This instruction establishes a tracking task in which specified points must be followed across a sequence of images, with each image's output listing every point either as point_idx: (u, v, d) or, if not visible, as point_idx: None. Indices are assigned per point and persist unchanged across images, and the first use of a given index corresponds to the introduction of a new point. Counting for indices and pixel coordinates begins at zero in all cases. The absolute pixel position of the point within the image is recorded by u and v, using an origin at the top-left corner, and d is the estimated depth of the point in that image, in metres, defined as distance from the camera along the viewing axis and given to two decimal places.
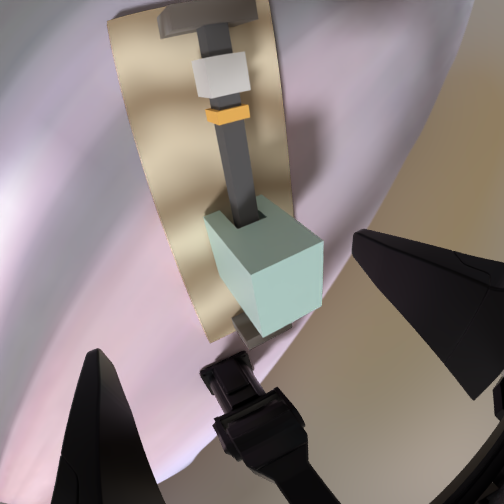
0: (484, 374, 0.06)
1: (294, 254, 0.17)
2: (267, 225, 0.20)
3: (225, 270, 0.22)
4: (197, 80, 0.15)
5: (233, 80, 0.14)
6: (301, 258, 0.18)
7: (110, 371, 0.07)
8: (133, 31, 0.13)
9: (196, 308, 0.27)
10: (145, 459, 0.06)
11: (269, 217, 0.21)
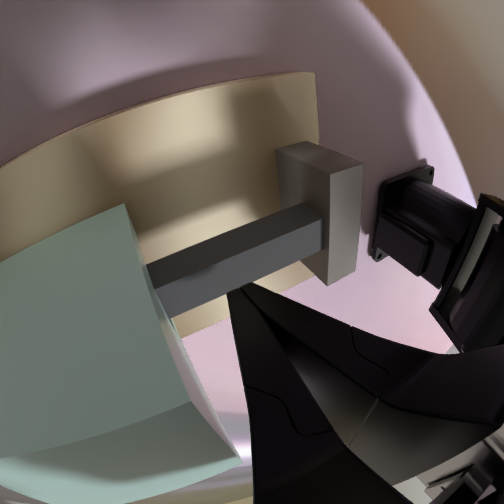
0: (390, 472, 0.05)
1: (18, 492, 0.03)
2: None
3: None
4: None
5: None
6: (18, 487, 0.03)
7: None
8: None
9: None
10: None
11: None
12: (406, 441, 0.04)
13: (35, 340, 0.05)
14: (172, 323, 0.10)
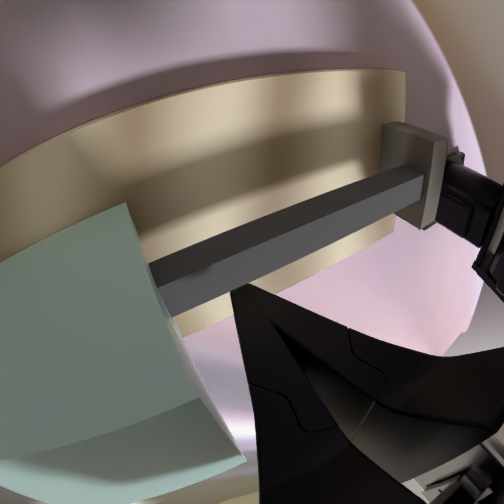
0: None
1: (21, 493, 0.03)
2: None
3: None
4: None
5: None
6: (21, 488, 0.03)
7: None
8: None
9: (334, 262, 0.17)
10: None
11: None
12: (402, 443, 0.04)
13: (38, 339, 0.05)
14: (174, 322, 0.10)
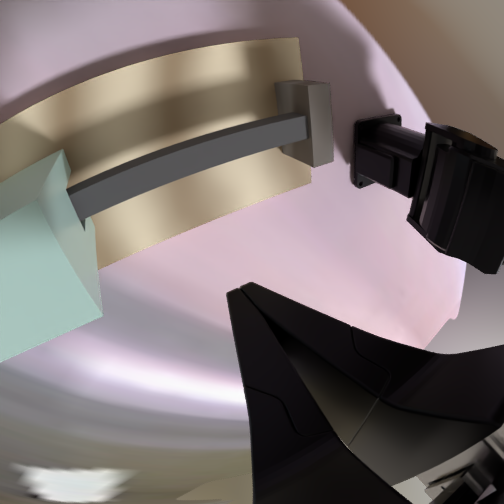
0: (389, 472, 0.05)
1: None
2: None
3: None
4: None
5: None
6: None
7: None
8: None
9: (245, 205, 0.20)
10: None
11: None
12: (406, 441, 0.04)
13: None
14: (85, 226, 0.13)
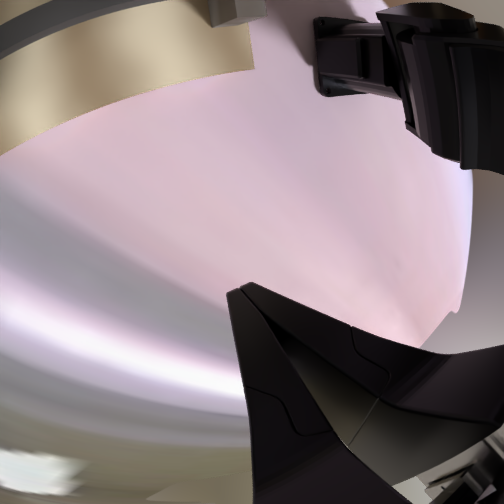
0: (389, 472, 0.05)
1: None
2: None
3: None
4: None
5: None
6: None
7: None
8: None
9: (162, 85, 0.14)
10: None
11: None
12: (406, 440, 0.04)
13: None
14: None
